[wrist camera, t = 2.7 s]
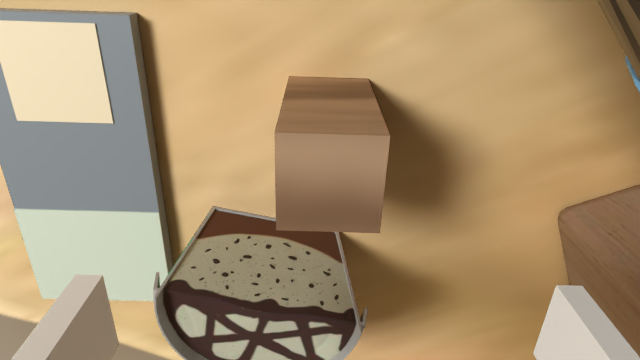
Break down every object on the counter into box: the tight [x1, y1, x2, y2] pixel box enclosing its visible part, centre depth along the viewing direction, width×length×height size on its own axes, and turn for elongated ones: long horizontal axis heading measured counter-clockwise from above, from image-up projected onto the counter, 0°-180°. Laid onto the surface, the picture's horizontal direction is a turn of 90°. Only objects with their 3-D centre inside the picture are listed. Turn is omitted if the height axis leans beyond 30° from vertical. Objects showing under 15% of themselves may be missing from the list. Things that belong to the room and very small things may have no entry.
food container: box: [153, 206, 368, 360], centre depth 30 cm, size 12×6×10 cm, turn 77°
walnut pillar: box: [275, 76, 390, 233], centre depth 25 cm, size 5×5×10 cm
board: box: [0, 8, 173, 301], centre depth 31 cm, size 21×10×1 cm, turn 178°
